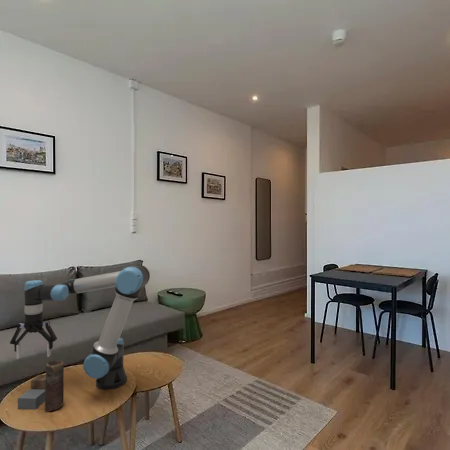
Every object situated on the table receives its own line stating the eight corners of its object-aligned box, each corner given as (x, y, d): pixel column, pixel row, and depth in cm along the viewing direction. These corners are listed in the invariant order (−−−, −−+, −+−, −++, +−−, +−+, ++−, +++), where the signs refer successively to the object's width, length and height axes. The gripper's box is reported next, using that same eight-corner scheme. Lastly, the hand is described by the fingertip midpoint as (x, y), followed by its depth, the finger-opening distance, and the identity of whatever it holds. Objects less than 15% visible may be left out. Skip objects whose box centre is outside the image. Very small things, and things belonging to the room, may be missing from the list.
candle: (51, 402, 148) (51, 358, 148) (67, 402, 148) (67, 359, 148) (41, 412, 141) (41, 365, 141) (57, 412, 140) (58, 366, 141)
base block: (46, 400, 150) (46, 389, 151) (35, 410, 142) (35, 398, 143) (29, 399, 151) (29, 389, 151) (17, 409, 143) (17, 398, 143)
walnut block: (50, 391, 159) (50, 374, 159) (43, 397, 153) (43, 380, 153) (38, 391, 159) (38, 374, 159) (30, 397, 153) (30, 380, 153)
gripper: (63, 309, 161) (64, 352, 161) (9, 312, 158) (9, 355, 157) (58, 313, 154) (58, 358, 154) (1, 316, 150) (1, 362, 150)
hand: (34, 357), depth 156 cm, fingers open, 13 cm apart
